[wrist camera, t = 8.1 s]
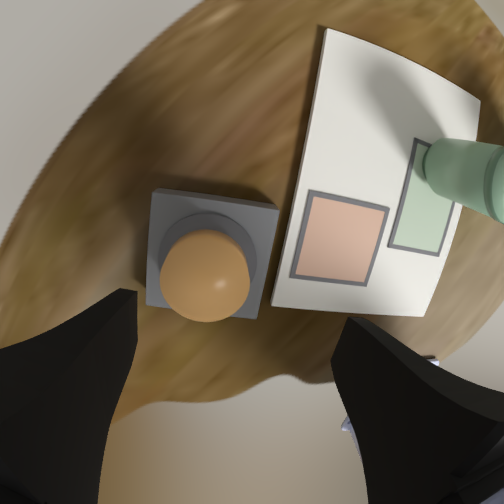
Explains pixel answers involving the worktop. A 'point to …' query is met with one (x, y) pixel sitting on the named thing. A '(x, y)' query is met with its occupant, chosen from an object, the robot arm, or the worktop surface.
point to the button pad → (212, 218)
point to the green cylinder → (467, 174)
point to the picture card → (371, 185)
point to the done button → (205, 276)
